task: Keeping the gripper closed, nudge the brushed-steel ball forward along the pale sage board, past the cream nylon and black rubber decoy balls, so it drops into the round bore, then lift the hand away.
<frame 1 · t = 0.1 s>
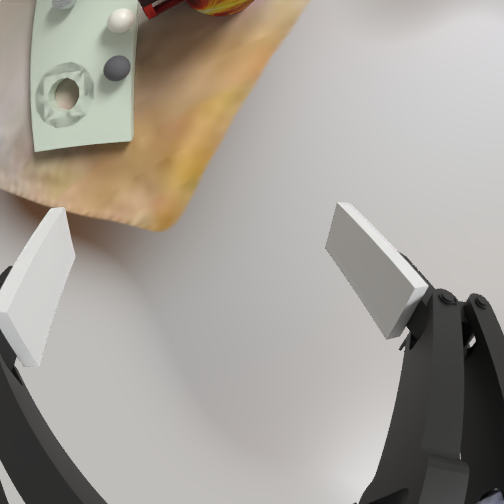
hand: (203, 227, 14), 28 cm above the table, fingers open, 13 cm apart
rubber decoy: (117, 68, 26), point 4 cm above the table, touching board
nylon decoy: (120, 20, 23), point 4 cm above the table, tilted 17°, touching board
board: (84, 48, 26), on the table
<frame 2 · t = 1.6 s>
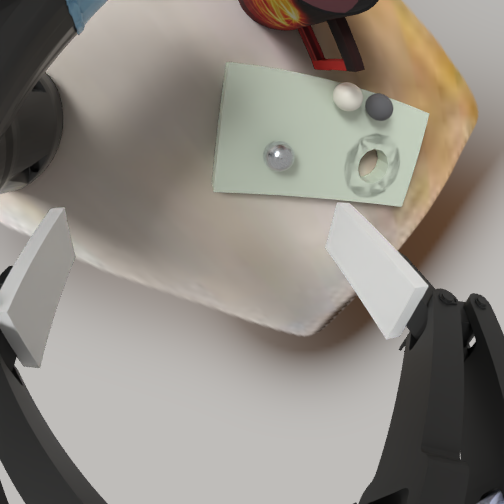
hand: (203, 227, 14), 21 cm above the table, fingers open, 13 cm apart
rubber decoy: (379, 107, 28), point 4 cm above the table, touching board
mug: (295, 5, 24), on the table
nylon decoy: (347, 96, 27), point 4 cm above the table, tilted 82°, touching board
steel ball: (278, 156, 29), point 4 cm above the table, touching board
board: (327, 137, 33), on the table
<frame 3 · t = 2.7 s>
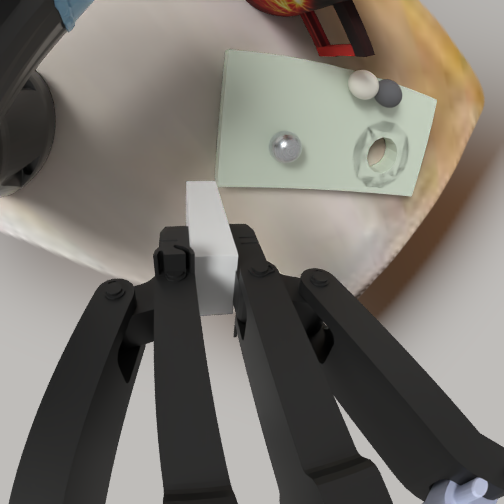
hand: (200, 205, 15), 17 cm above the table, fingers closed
rubber decoy: (387, 93, 26), point 4 cm above the table, touching board
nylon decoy: (363, 84, 25), point 4 cm above the table, tilted 118°, touching board
steel ball: (285, 146, 27), point 4 cm above the table, touching board
board: (333, 126, 31), on the table
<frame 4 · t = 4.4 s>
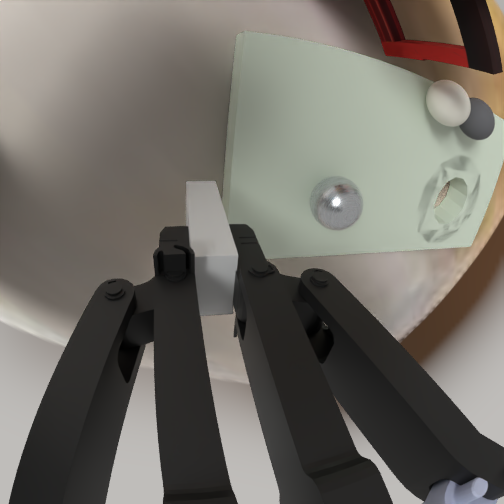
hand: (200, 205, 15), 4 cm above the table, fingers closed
rubber decoy: (475, 118, 15), point 4 cm above the table, tilted 8°, touching board
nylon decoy: (448, 103, 14), point 4 cm above the table, tilted 113°, touching board
steel ball: (336, 203, 17), point 4 cm above the table, touching board
board: (393, 160, 21), on the table
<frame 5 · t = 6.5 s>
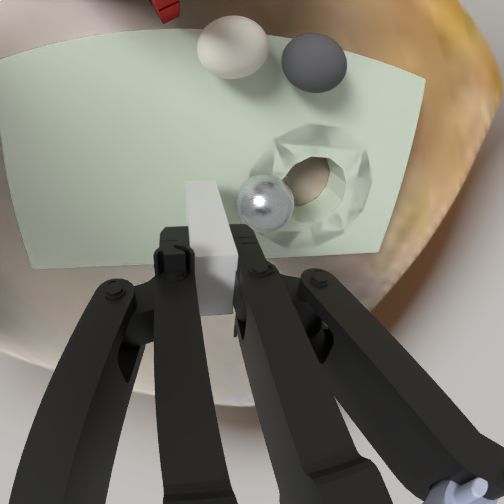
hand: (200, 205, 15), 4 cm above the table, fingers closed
rubber decoy: (314, 62, 12), point 4 cm above the table, tilted 18°, touching board
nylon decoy: (232, 47, 11), point 4 cm above the table, tilted 106°, touching board
steel ball: (264, 203, 16), point 4 cm above the table, tilted 26°, touching board
board: (214, 145, 18), on the table
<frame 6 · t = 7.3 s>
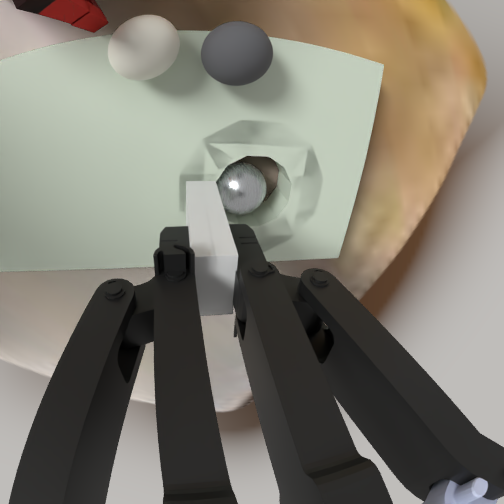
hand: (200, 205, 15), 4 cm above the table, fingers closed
rubber decoy: (236, 53, 11), point 4 cm above the table, tilted 21°, touching board
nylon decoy: (143, 47, 10), point 4 cm above the table, tilted 103°, touching board
steel ball: (239, 188, 18), point 2 cm above the table, tilted 106°
board: (151, 148, 17), on the table
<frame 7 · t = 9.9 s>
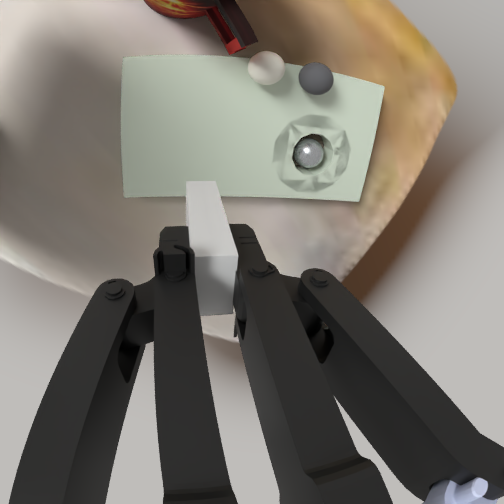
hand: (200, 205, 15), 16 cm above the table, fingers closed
rubber decoy: (316, 78, 23), point 4 cm above the table, tilted 32°, touching board
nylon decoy: (266, 67, 22), point 4 cm above the table, tilted 95°, touching board
steel ball: (308, 152, 30), point 2 cm above the table, tilted 122°
board: (253, 125, 29), on the table
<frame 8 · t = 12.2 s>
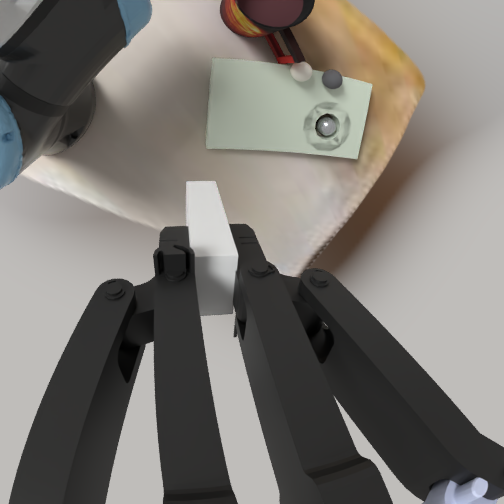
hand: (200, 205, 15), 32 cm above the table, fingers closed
rubber decoy: (332, 79, 38), point 4 cm above the table, tilted 42°, touching board
mug: (262, 18, 35), on the table
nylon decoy: (301, 71, 37), point 4 cm above the table, tilted 87°, touching board
steel ball: (326, 126, 45), point 2 cm above the table, tilted 137°
board: (289, 107, 44), on the table
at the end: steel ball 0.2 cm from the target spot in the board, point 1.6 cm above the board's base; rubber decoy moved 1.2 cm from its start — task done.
